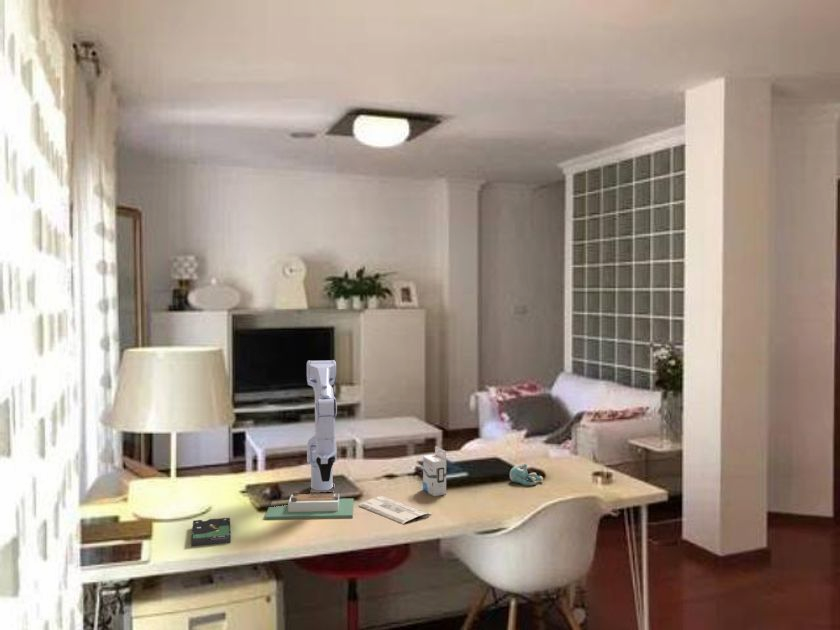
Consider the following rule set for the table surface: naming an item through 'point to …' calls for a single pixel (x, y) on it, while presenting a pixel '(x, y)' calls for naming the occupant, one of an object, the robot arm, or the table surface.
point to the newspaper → (393, 509)
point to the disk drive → (211, 532)
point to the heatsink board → (310, 515)
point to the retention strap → (315, 496)
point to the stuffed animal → (523, 476)
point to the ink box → (435, 473)
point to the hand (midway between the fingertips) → (325, 480)
